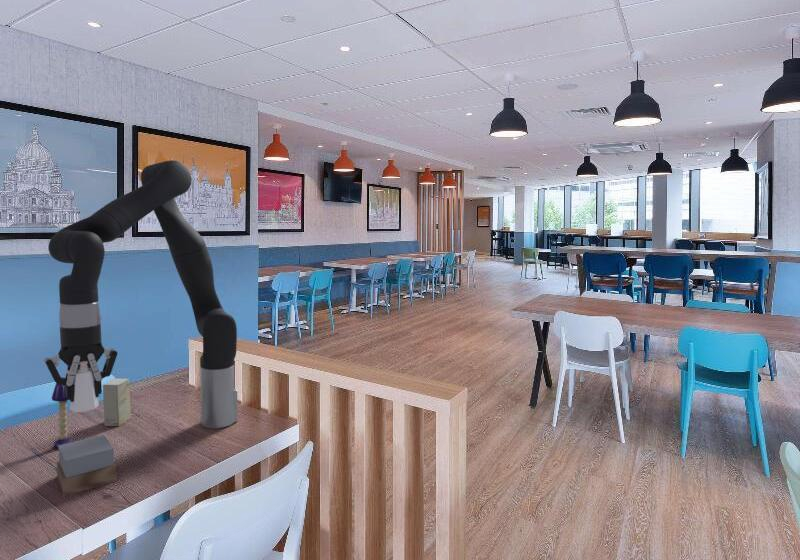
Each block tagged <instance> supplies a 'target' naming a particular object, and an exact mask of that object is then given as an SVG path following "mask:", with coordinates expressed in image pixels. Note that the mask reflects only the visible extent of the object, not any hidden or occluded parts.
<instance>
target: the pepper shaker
mask: <svg viewBox="0 0 800 560" xmlns="http://www.w3.org/2000/svg"><path fill="white" fill-rule="evenodd" d="M87 363H88V361H82V362H79V364H80V369H79V370H77V371H76V375H75V377H74V381H73V385H74V391H75V393H74V402H71V401H70V405H69V410H70V411H71V412H74V413H87V412H89V411H92V410H95V409H97V408H98V407H99V405H100V403H99V397H96V396H95V386H94V381H95V379H94V375H93V372H92V370H91V369H90V368H88V367H87Z"/></svg>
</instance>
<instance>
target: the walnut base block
mask: <svg viewBox="0 0 800 560" xmlns="http://www.w3.org/2000/svg"><path fill="white" fill-rule="evenodd" d="M117 466H118V465H117V464H116V462H115V461H114V465H113V466H109V467H106V468H102V469H98V470H95V471H91V472H88V473H84V474H80V475H77V476H73V477H69V478H66V476H65V474H64V472H63V470H62V468H61V465H60V463H59V460H58V461H56V473H57V474H56V476H57V480H58V483H59V486H60V488H61V493H62V494H63V495H62V496H63V497H65V495H66V496H70V495H73V494H77V493H80V492H83V491H87V490H90V489H93V488H97V487H100V486H104V485H107V484H110V483H114V482H115V483H116V482H118V471H117V470H118V468H117Z"/></svg>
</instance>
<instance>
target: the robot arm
mask: <svg viewBox="0 0 800 560" xmlns="http://www.w3.org/2000/svg"><path fill="white" fill-rule="evenodd" d="M192 179H193V178H192V174H191V172H190V170H189V168H188V167H187V165H185V164H184V163H183V162H181V161H179V160H164V161H161V162H156V163H153V164H149V165H147V166H144V168H143V169H142V170H141V173H140V182H141V186H139V187H137V188H135V189H133V190H132V191H129V192H127V193H125V194H123V195H121V196H119V197H117V198H115V199H113V200H112V201H110V202H108V203H107V204H105V205H104V206H102V207H101V208H100V209H98V210H96V212H94V213H92V214H91V215H90V216H88V217H86V218H83V219H80V220H79V221H75V222H74V223H71V224H70V225H67V226H65V227H63V228H62V229H59V230H58V231H57V232H55V234H54V235H52V237H51V239H50V240H49V241H48V242H49V243H48V253H49V255H50V256H51V258H53V259H54V260H55V261H57V262H60V263H64V264H72V269H71V273H70V274H68V275H65V276H62V277H61V278H60V280H59V281H58V283H59V285H58V293H59V312H58V318H59V338H60V339H59V340H60V341H59V342H60V349H59V351H58V354H56V355H54V356H51V357H46V358H44V360H43V362H44V364H45V365H46V367H47V369H48V371H49V373H50V375H51V377H52V379H53V381H54V382H55V385H56V384H57V385H65V391H66V397H67V399H68V400H67V401H70V402H74V393H75V391H74V385H73V381H74V377H75V375H76V371H77V370H79V369H80V364H79V362H82V361H88V363H87V367H88V368H90V369H91V370H92V372H93V375H94V379H95V381H94V386H95V396H96V397H98V398H99V396H100V395H101V394H102V393H103V384H102V380H103V379H104V378H108V377H110V376H111V374H112V371H113V369H114V365H115V363H116V360H117V357H118V351H117V350H115V349H114V348H110V349H109V348H104V346H103V343H102V326H101V325H102V324H101V323H102V316H101V309H100V304H99V287H98V286H99V285H98V283H99V279H100V275H101V273H102V267H103V263H104V260H105V251H106V250H105V245H104V243H111V242H113V241H115V240H117V239H118V238H119V237H121V236H122V235H123V234H124V233H126V232H127V231H129V229H131V228H132V227H133V226H134V225H135V224H136V223H138V222H139V221H141V220H142V219H143V218H144V217H147V215H149V214H151V212H154V214H155V216H156V219H157V221H158V224H159V225H160V228H161V231H162V232H163V235H164V238H165V240H166V244H167V246H168V248H169V252H170V255H171V258H172V261H173V263H174V266H175V269H176V271H177V273H178V277H179V278H180V280H181V282H182V285H183V287H184V289H185V292H186V293H187V296H188V297H189V300H190V303H191V308H192V311H193V314H194V315H193V316H194V321H195V325H196V329H197V331H198V333H199V334H200V336H201V337H202V355H201V356H200V359H199V362H200V364H199V367H200V369H199V372H200V373H199V374H200V415H201V416H200V421H201V422H200V423H201V426H202V427H204V428H207V429H222V428H225V427H228V426H231V425H232V424H234V423H236V422H237V423H238V421H239V420H238V419H239V418H238V416H239V415H238V390H237V389H236V388H235V359H236V356H237V349H238V347H237V346H238V345H237V344H238V343H237V342H238V333H237V332H238V328H237V323H236V320H235V319H234V317H233V315H231V314H229V313H228V312H226V311H225V310H224V308H223V306H222V304H221V302H220V299H219V297H218V294H217V292H216V288H215V277H214V269H213V262H212V259H211V256H210V252H209V250H208V247H207V243H206V242H205V240H204V239H203V237H202V236H201V234H200V233H199V232H198V231H197V230H196V229H195V228H194V227H193V226H192V225H191V224H190V223H189V222H188V220H186V218H185V217H184V216H183V214H182V213H181V211H180V208H179V206H178V204H177V201H176V198H177V197H179V196H181V195H184V194H185V193H186V192H188V191H189V189H190V188H191V186H192ZM103 354H104V358H105V362H104V365H103V367H102V369H101V371H100V369H99V366H98V361H99V360H100V359H101V357H102V356H103ZM59 361H62V362H64V363H65V365H67V366H66V372H65V377H61V375H60V373H59V371H58V369H57V367H58V366H59V363H60V362H59Z"/></svg>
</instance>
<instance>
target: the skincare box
mask: <svg viewBox="0 0 800 560" xmlns="http://www.w3.org/2000/svg"><path fill="white" fill-rule="evenodd" d="M130 391H131V389H130V378H123V377H122V378H113V379H111V380H110V381H107V382H105V383H104V384H102V393H103V394H102V397H103V417H104V426H105V427H108V426H109V427H120V426H122V425H123V424H125V423H126V422H127V420H128V421H129V420H131V419H132V411H131V392H130ZM130 418H131V419H130Z"/></svg>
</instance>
